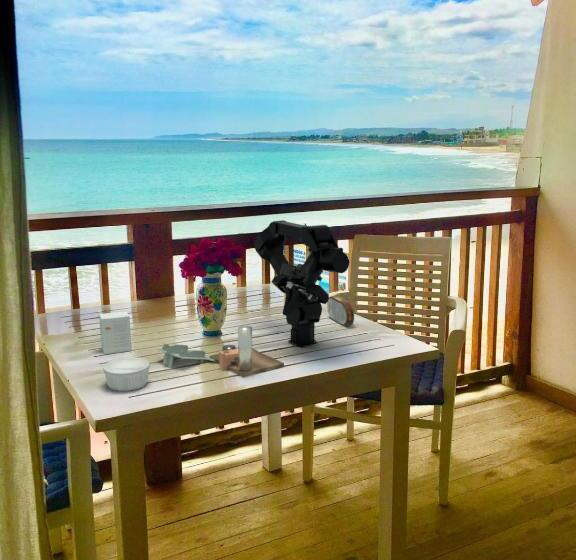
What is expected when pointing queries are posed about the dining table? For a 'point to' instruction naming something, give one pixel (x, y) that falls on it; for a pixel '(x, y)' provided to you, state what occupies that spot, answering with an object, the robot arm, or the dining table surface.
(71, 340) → the dining table surface
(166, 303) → the dining table surface
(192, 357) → the metal bracket
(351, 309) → the tin
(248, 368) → the grey cylinder with bar
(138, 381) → the ramekin
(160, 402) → the dining table surface
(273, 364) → the board
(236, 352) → the block
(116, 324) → the small box
